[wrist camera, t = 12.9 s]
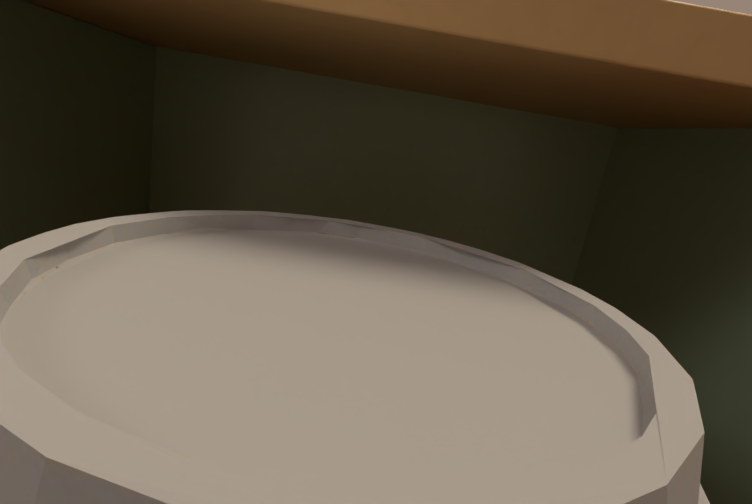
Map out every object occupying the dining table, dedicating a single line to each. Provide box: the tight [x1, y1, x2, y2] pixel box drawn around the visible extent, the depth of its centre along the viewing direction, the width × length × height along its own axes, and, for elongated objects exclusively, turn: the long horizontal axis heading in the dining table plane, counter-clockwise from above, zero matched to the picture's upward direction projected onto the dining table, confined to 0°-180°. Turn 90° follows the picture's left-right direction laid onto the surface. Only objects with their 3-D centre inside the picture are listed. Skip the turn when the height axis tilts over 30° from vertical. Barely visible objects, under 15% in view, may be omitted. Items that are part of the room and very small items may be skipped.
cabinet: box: [0, 0, 752, 504], centre depth 18 cm, size 15×24×19 cm, turn 89°
